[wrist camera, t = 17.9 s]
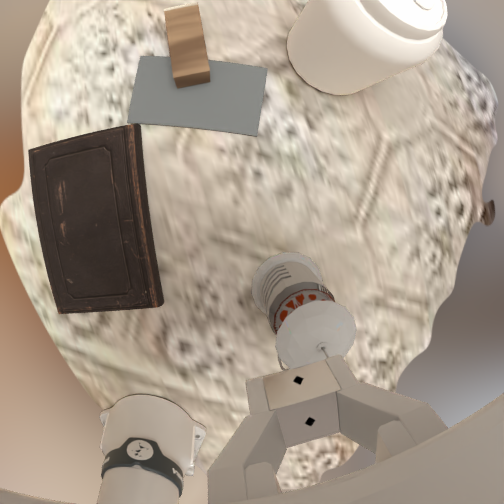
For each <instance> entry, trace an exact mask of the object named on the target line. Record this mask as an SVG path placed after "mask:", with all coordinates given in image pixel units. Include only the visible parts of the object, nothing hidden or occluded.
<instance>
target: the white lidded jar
mask: <svg viewBox="0 0 504 504" xmlns="http://www.w3.org/2000/svg"><path fill="white" fill-rule="evenodd" d="M446 18H447V5H446V2H445V0H309V1H308V2H307V4H306V5H305V7H304V9H303V10H302V12H301V14H300V15H299V17H298V19H297V20H296V22H295V24H294V25H293V27H292V29H291V30H290V32H289V34H288V40H287V51H288V56H289V60H290V62H291V63H292V65H293V67H294V69H295V71H296V72H297V73H298V74H299V75H300V76H301V77H302V78H303V79H304V80H305V81H306V82H307V83H308V84H310V85H311V86H313V87H315V88H317V89H318V90H320V91H322V92H326V93H330V94H333V95H350V94H353V93H355V92H358V91H361V90H363V89H365V88H367V87H369V86H372V85H374V84H376V83H378V82H380V81H383V80H385V79H387V78H390V77H392V76H394V75H397V74H399V73H401V72H404V71H406V70H408V69H411V68H413V67H416V66H418V65H421V64H423V63H424V62H425V61H426V60H427V59H428V58H429V57H430V56H432V55H433V53H434V52H435V51H436V50H437V49H438V48H439V46H440V43H441V40H442V37H443V26H444V24H445V21H446Z"/></svg>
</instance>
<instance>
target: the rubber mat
mask: <svg viewBox="0 0 504 504" xmlns="http://www.w3.org/2000/svg"><path fill="white" fill-rule="evenodd" d="M208 63H209V68H210V82H208V83H203V84H197V85H192V86H187V87H182V88H178V89H177V86H176V83H175V81H174V78H173V72H172V65H171V58H170V57H160V56H141V57H140V61H139V65H138V70H137V74H136V79H135V83H134V88H133V93H132V99H131V104H130V109H129V115H128V121H127V123H136V124H153V125H166V126H177V127H188V128H197V129H206V130H215V131H222V132H230V133H237V134H244V135H250V136H257V133H258V126H259V120H260V113H261V107H262V101H263V95H264V88H265V82H266V76H267V70H268V68H262V67H256V66H250V65H244V64H237V63H230V62H222V61H213V60H208Z"/></svg>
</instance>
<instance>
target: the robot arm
mask: <svg viewBox="0 0 504 504" xmlns="http://www.w3.org/2000/svg"><path fill="white" fill-rule="evenodd" d="M246 390H247V396H248V403H249V409H250V416H246V417H245V418H244V420H243V421H242V423H241V424H240V426H239V427H238V429H237V430H236V432H235V433H234V435H233V436H232V437H231V439H230V440H229V442H228V443H227V445H226V446H225V447H224V449H223V450H222V452H221V453H220V454H219V456H218V457H217V459H216V460H215V461H214V463H213V464H212V465H211V467H210V468H209V470H208V504H504V393H503V394H502V395H500V396H499V397H497V398H496V399H495V400H493V401H492V402H490V403H489V404H487V405H486V406H484V407H483V408H481V409H480V410H478V411H477V412H475V413H474V414H472V415H470V416H469V417H467V418H466V419H464V420H462V421H461V422H459V423H457V424H456V425H454V426H452V427H450V428H449V429H448V427H447V426H446V425H445V424H444V423H443V421H442V420H441V419H440V418H439V416H438V415H437V414H436V412H435V411H434V410H433V409H432V408H431V406H430V405H429V404H428V403H425V402H421V401H419V400H415V399H412V398H409V397H406V396H403V395H400V394H397V393H394V392H391V391H388V390H385V389H382V388H379V387H376V386H374V385H371V384H368V383H365V382H363V383H360V384H359V382H358V380H357V379H356V377H355V376H354V374H353V373H352V371H351V370H350V368H349V366H348V365H347V363H346V362H345V360H344V359H343V357H342V356H341V355H340V354H337V355H334V356H331V357H328V358H325V359H324V360H321V361H318V362H314V363H311V364H308V365H304V366H301V367H298V368H294V369H290V370H286V371H282V372H278V373H273V374H269V375H265V376H262V377H257V378H253V379H248V380H246ZM100 420H101V422H102V425H103V427H104V430H103V434H102V439H101V443H100V449H101V450H102V452H103V454H104V455H105V460H104V462H103V465H102V474H101V476H102V479H103V480H102V484H101V488H100V492H99V496H98V500H97V504H179V497H180V496H181V494H182V490H183V478H184V476H185V475H187V476H193V474H194V467H195V466H194V465H195V461H194V460H195V458H196V456H197V453H198V451H199V449H200V446H201V444H202V442H203V439H204V437H205V435H206V428H205V427H204V426H203V425H201V424H199V423H197V422H195V421H194V420H192V419H191V418H190V417H189V415H188V414H187V413H186V412H185V411H184V410H183V409H181V408H180V407H179V406H177V405H176V404H174V403H172V402H170V401H168V400H166V399H163V398H160V397H156V396H151V395H132V396H128V397H125V398H123V399H121V400H119V401H118V402H117V403H116V404H115V405H114V406H113V407H112V408H110V409H107V410H104V411H102V412H101V413H100ZM339 432H341V434H343V435H344V436H346V437H348V438H349V439H351V440H353V441H354V442H356V443H358V444H359V445H361V446H363V447H365V448H366V449H368V450H370V451H371V452H373V453H375V454H376V460H375V464H374V465H371V466H369V467H366V468H364V469H361V470H358V471H356V472H353V473H350V474H347V475H345V476H341V477H338V478H335V479H332V480H329V481H326V482H322V483H319V484H315V485H312V486H308V487H305V488H301V489H297V490H293V491H289V492H285V493H282V491H281V488H280V485H279V483H278V480H277V478H276V474H277V471H278V469H279V467H280V464H281V462H282V460H283V457H284V455H285V452H286V450H287V448H288V447H292V446H295V445H298V444H302V443H305V442H308V441H311V440H315V439H318V438H322V437H325V436H329V435H332V434H335V433H339ZM0 504H74V503H67V502H61V501H55V500H49V499H44V498H39V497H34V496H30V495H25V494H21V493H17V492H13V491H10V490H6V489H2V488H0Z"/></svg>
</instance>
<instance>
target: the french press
mask: <svg viewBox="0 0 504 504" xmlns="http://www.w3.org/2000/svg"><path fill="white" fill-rule="evenodd" d="M322 281H323V280H322V277H321V273H320V270H319V268H318V266H317V265H316V264H315V263H314V262H313V261H312V259H311V258H309V257H307V256H305V255H302V254H300V253H297V252H283V253H280V254H278V255H275V256H272V257H270V258H269V259H267V260H266V261H265V262H264V263H263V264H262V265H261V266H260V267H259V268H258V270H257V272H256V274H255V276H254V278H253V280H252V293H251V294H252V296H253V299H254V301H255V304H256V306H257V307H258V308H259V309H260V310H261V311H262V312H263V313H264V314H265V315H267V318H268V321H269V324H270V326H271V328H272V330H273V332H274V333H275V334H276V335H277V337H276V346H275V347H276V350H277V353H278V361H279V364H280V367H281V369H282V370H283V371H286V370H290V369H294V368H298V367H301V366H304V365H308V364H311V363H314V362H318V361H321V360H324V359H325V358H328V357H331V356H334V355H337V354H340V355H341V356H342V357H345V356H346V354H347V353H348V351H349V350H350V348H351V347H352V345H353V343H354V339H355V334H356V330H357V329H356V325H355V320H354V317H353V316H352V314H351V313H350V312H349V311H348V310H347V308H346V307H344V306H342V305H340V304H338V303H335V300H334V297H333V295H332V294H331V292H330V291H329V290H328V289H327V288H326V287H325V286H324V284H323V283H322ZM323 286H324V288H325V290H324V288H323ZM322 288H323V291H322ZM326 289H327V291H328V293H327V291H326ZM325 291H326V293H325ZM281 361H282V362H284V363H285V364H286V365H287V366H288V367H289V369H284V368H283V366H282V363H281Z"/></svg>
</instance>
